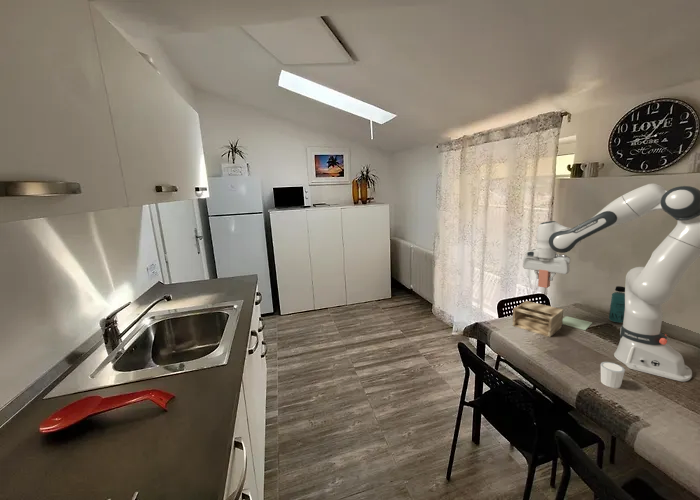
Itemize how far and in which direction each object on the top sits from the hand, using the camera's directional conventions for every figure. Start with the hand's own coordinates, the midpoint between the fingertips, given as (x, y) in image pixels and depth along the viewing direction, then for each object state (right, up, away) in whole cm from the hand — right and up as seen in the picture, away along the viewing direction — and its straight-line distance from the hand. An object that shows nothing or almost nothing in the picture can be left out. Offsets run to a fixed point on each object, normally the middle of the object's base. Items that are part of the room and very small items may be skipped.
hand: (544, 279), depth 153 cm
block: (0, -4, +1) cm, 4 cm away
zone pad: (+22, -24, +8) cm, 34 cm away
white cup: (-2, -35, -41) cm, 54 cm away
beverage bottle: (+42, -24, +6) cm, 49 cm away
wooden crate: (0, -26, +7) cm, 27 cm away
